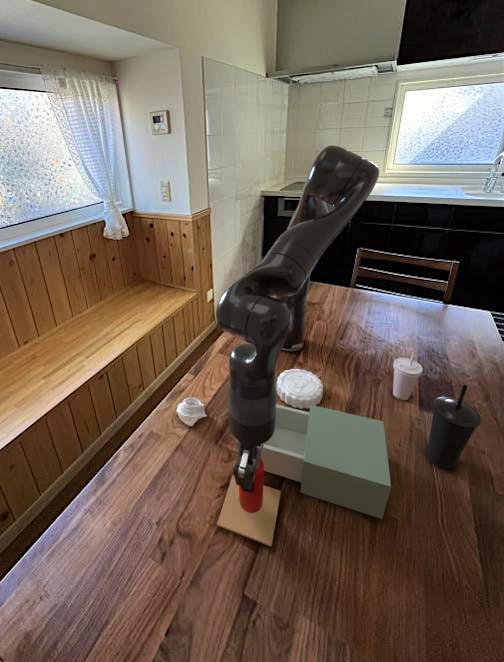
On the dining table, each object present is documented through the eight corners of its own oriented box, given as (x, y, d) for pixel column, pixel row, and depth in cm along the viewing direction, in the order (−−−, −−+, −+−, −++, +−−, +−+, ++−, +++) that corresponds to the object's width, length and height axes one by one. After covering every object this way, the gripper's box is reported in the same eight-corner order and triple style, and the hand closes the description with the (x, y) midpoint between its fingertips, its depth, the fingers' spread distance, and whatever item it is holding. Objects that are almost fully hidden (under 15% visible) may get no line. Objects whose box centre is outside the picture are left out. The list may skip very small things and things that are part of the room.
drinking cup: (411, 445, 75) (431, 374, 67) (443, 441, 75) (468, 370, 67) (436, 477, 68) (462, 403, 60) (471, 473, 68) (502, 398, 60)
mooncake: (291, 371, 99) (292, 361, 97) (330, 391, 91) (331, 380, 89) (267, 393, 91) (268, 382, 90) (307, 417, 83) (308, 406, 82)
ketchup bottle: (234, 501, 63) (233, 457, 58) (248, 484, 66) (249, 441, 61) (253, 518, 60) (253, 473, 55) (267, 500, 63) (269, 456, 58)
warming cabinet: (300, 492, 66) (303, 461, 63) (307, 433, 79) (310, 404, 75) (382, 519, 61) (391, 486, 58) (376, 451, 74) (383, 421, 70)
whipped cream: (172, 417, 86) (168, 403, 84) (190, 400, 90) (186, 386, 88) (194, 432, 81) (191, 417, 79) (212, 413, 85) (209, 399, 83)
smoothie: (418, 405, 85) (431, 360, 79) (391, 402, 86) (401, 358, 80) (409, 387, 90) (420, 344, 85) (384, 384, 92) (393, 342, 86)
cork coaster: (217, 525, 62) (216, 524, 61) (232, 476, 70) (232, 474, 70) (271, 547, 58) (271, 545, 58) (281, 492, 67) (281, 490, 66)
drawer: (240, 467, 71) (240, 443, 68) (255, 419, 82) (255, 396, 79) (313, 490, 66) (316, 465, 63) (317, 435, 77) (320, 412, 74)
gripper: (241, 371, 61) (241, 438, 68) (215, 434, 49) (218, 508, 56) (282, 380, 58) (278, 449, 65) (266, 449, 46) (263, 525, 53)
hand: (251, 476), depth 60 cm, fingers closed on ketchup bottle, 4 cm apart
